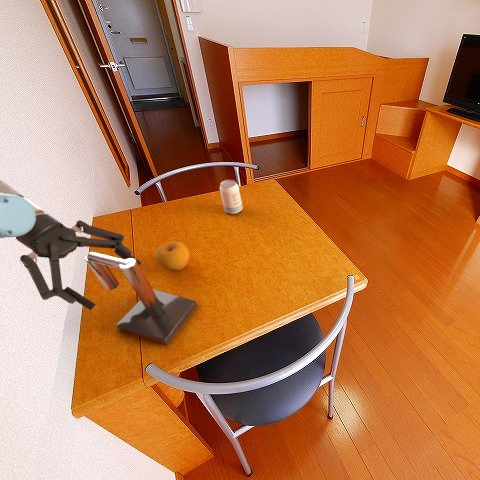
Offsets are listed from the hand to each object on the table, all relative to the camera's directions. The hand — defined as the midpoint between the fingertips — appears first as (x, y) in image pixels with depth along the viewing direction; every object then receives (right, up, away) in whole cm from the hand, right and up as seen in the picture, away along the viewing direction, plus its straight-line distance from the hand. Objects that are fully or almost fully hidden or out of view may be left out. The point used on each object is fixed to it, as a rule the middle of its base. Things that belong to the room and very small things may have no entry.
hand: (117, 285), depth 67 cm
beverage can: (+15, +23, +42) cm, 50 cm away
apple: (+5, +2, +19) cm, 19 cm away
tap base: (+7, -9, +5) cm, 13 cm away
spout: (+3, -6, +4) cm, 8 cm away
